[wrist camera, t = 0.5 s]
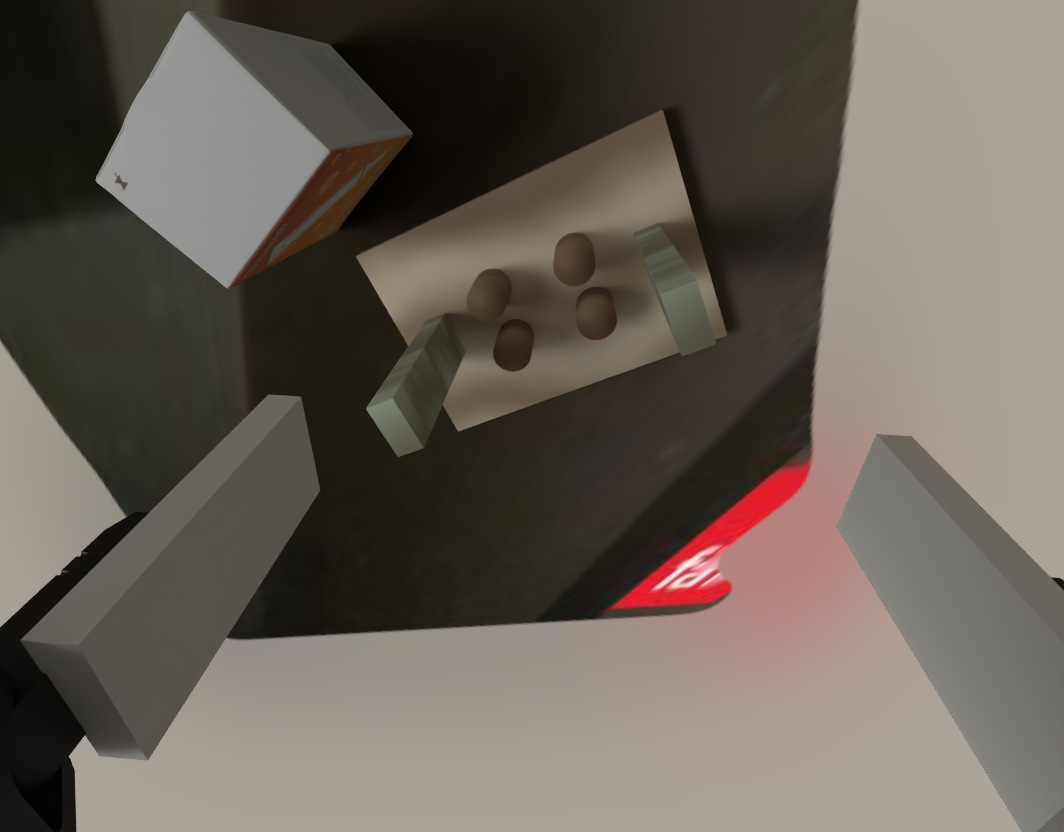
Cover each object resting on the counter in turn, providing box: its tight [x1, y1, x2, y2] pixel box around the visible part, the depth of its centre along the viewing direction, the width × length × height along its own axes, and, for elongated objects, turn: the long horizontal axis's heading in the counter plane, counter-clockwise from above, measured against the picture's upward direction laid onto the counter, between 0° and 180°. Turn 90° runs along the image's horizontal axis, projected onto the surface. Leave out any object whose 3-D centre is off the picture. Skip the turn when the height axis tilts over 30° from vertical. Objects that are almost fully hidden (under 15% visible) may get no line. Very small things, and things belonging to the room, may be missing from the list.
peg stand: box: [356, 110, 727, 457], centre depth 30 cm, size 14×20×13 cm
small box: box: [96, 10, 413, 289], centre depth 27 cm, size 8×6×13 cm
